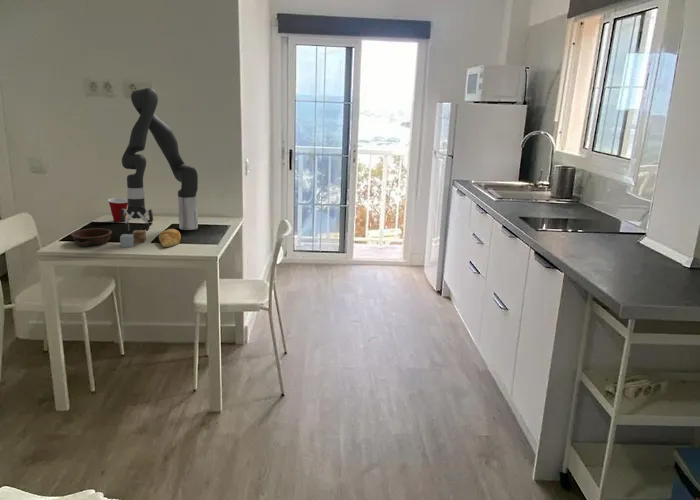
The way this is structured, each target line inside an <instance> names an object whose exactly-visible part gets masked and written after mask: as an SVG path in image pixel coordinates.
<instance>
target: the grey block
mask: <svg viewBox="0 0 700 500" xmlns="http://www.w3.org/2000/svg"><path fill="white" fill-rule="evenodd" d="M119 243H120V248H133V247H134V245H135V243H134V234H133V233H122V234H121V235H120V236H119Z"/></svg>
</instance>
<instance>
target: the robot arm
mask: <svg viewBox="0 0 700 500" xmlns="http://www.w3.org/2000/svg"><path fill="white" fill-rule="evenodd" d="M130 101H131V104H132V105H133V107H134V109H135V110H136V111H137V113H138V114H139V117H138V119H137V121H136V122H135V124H134V125H133V127H132V129H131V132H130V136H129V141H128V145H127V147H126V149H125V151H124V153H123V154H122V157H121V164H122V165H121V166H122V167H123V168H124V169H126V170H134V171H135V173H131V174H128V175H127V176H126V187H127V190H126V199H127V201H128V205H127V209H121V222H120V223H124V227H125V230H126V231H127V232H129V231H130V221H131V219H138V220H139V219H140V220H141V219H142V220H143V221H144V223H145V230H146V232H148V231H149V230H150V223H152V222H153V221H154V215H153V209H152V208H149V209H146V206H145V205H146V203H145V191H144V190H145V189H144V176H145V175H144V174H145V171H146V167H147V159H146V157H145V156H144V155H143V154H138V153H139V152H143V151H145V148H146V143H147V137H148V132H149V131H150V133H151V135H152V137H153V138H154V140H155V142H156V144H157V145H158V147H159V149H160V150H161V152H162V155H163V156H164V158H165V159H166V160H167V163H168V165H169V167H170V169H171V171H172V174H173V176H174V178H175V179H176V181H178V182H179V183H181V187H180V189H179V190H178V191H177V201H178V202H177V207H178V208H177V209H178V226H179V229H180V230H182V231H193V230H198V228H199V224H198V223H199V222H198V220H199V219H198V207H197V206H198V205H197V192H198V190H199V189H198V188H199V187H198V186H199V185H198V183H199V179H198V178H199V177H198V175H199V174H198V171H197V170H196V168H195V167H194V166H191V165H187V164H186V163H185V162H184V160H183V158H182V157H181V154H180V151H179V145H178V144H179V143H178V141H177V138H176V136H175V134H174V132H173V130H172V129H171V127H170V126H169V125H167V124H166V123H165V122H164V121H163V120H161V118H159V117H158V116H157V115H156V114H155V112H156V109H157V106H158V102H159V97H158V93H157V92H156V91H155V90H154V89H153V88H150V87H148V88H147V87H146V88H141V89H136V90H134V91H132V93H131V94H130ZM136 153H137V154H136ZM125 213H126V214H127V213H128V217H127V218H126V219H124V215H125ZM146 213H147V215H148V217H147V216H146V215H145V214H146Z"/></svg>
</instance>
